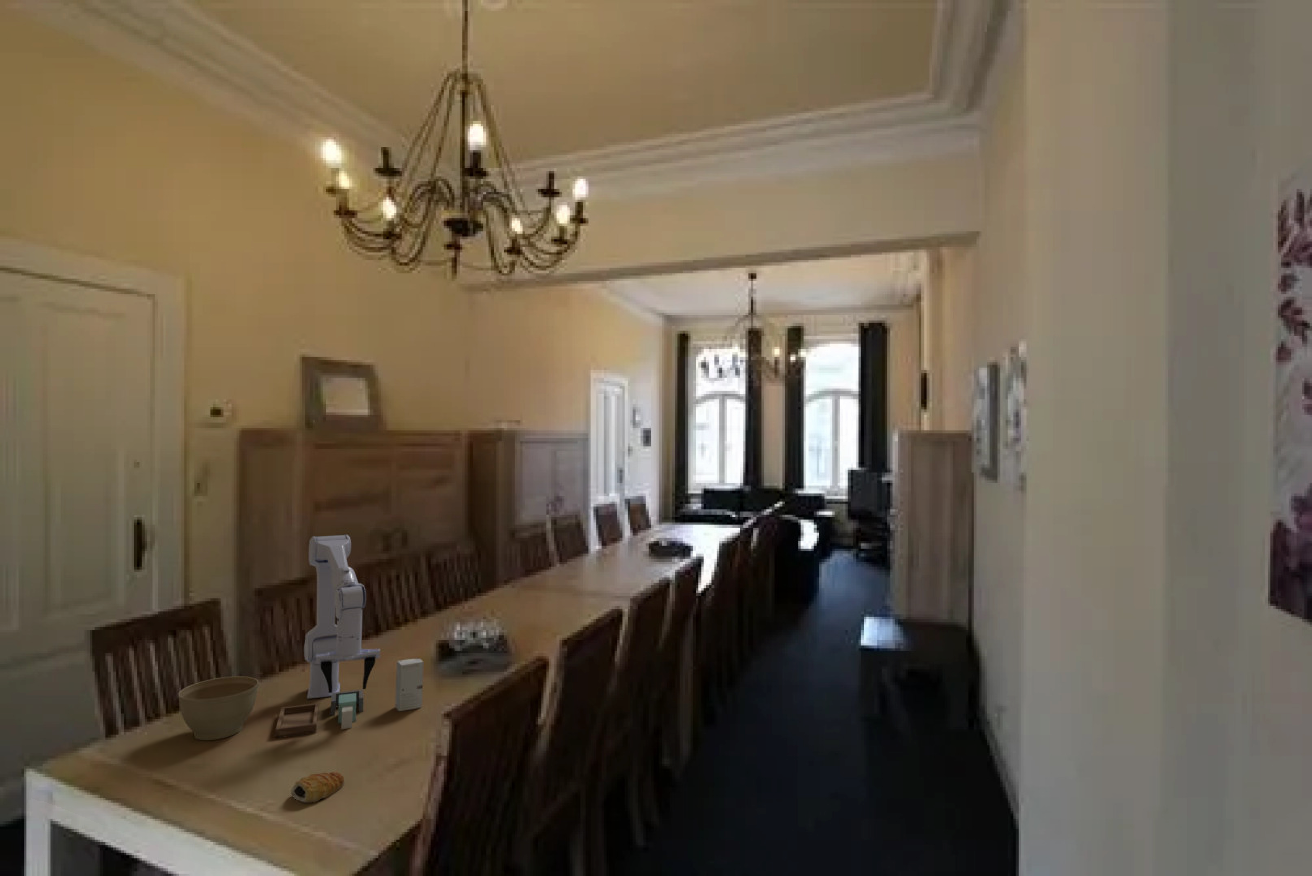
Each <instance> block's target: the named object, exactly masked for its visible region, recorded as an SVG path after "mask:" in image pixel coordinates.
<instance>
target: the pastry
mask: <svg viewBox="0 0 1312 876" xmlns="http://www.w3.org/2000/svg"><path fill="white" fill-rule="evenodd" d="M344 784H345V779H344V776H343V775H342V774H341V773H339V772H336V771H335V772H334V771H332V772H322V773H321V772H320V773H313V774H310V775H308V776H305V777H301V778H300V780H297V781H296V782H295V784H294V785H293V786H292V789H291V790H290V795H291V796H292V797H293V796H294V798H293V800H295V799H296V800H295V801H298V800H299V801H298V802H302V803H304V804H308V803H309V804H312V802H313V803H315V802H319V801H320V800H321V799H326V798H327V797H330V796H331V795H333V794H334V793H336V792H337V790H338V791H339V790H340V789H342V787H343V786H344ZM310 802H311V803H310Z"/></svg>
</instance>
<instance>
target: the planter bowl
mask: <svg viewBox="0 0 1312 876" xmlns="http://www.w3.org/2000/svg"><path fill="white" fill-rule="evenodd" d="M258 688H259V680H258V679H257V678H254V677H251V676H241V675H239V676H238V675H237V676H224V677H217V678H211V679H207V680H204V681H200V682H197V683H193V684H191V685H188V686H186V687H184V688H182V689H181V690H180V691H179V692H178V699H179V708H180V714H181V716H182V719H183V721H184V722H185V724H186V725H187V727H188V728H189V729H190V730H191V731H192V732H193V734H194V738H195V739H197V740H201V741H212V740H213V741H214V740H220V739H225V738H227V737H231V736H233V735H235V734H237V733H239V732H240V731H241V730H242V729H243V724H244V723H245V721H246V720H247V719H248V717H250V714H251V713H252V711H253V709H254V706H255V703H256V701H257V696H258V695H257V694H258Z"/></svg>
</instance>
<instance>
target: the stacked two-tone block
mask: <svg viewBox="0 0 1312 876" xmlns="http://www.w3.org/2000/svg"><path fill="white" fill-rule="evenodd" d="M337 716H338V717H337V718H338V719H337V724H341V725H340V726H341V728H340V729H341V730H344V729H346V730H347V729H352V728H353V722H356V719H357V718H356V717H357V705H356V693H353V694H345V695H339V707H338V713H337Z"/></svg>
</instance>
